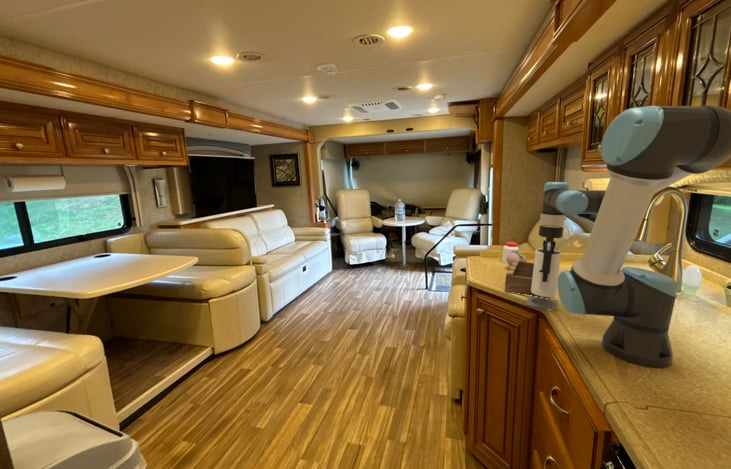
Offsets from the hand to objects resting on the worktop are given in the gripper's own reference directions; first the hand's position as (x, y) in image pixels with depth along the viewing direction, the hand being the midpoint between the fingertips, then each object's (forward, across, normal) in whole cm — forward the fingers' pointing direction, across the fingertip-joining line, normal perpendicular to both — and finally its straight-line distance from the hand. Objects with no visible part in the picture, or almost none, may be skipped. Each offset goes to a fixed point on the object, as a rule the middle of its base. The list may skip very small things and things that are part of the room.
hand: (544, 285), depth 122 cm
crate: (+7, +19, +6) cm, 21 cm away
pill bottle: (+8, +53, +18) cm, 56 cm away
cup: (+3, 0, 0) cm, 3 cm away
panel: (+7, 0, 0) cm, 7 cm away
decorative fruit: (+8, +41, +14) cm, 44 cm away
